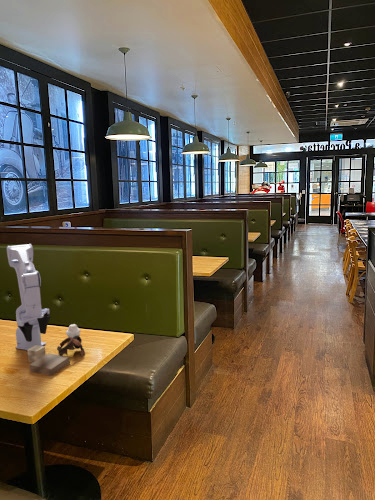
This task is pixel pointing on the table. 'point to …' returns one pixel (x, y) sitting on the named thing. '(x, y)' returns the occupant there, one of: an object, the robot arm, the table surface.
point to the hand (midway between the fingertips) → (36, 337)
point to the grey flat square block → (49, 364)
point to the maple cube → (36, 353)
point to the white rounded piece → (73, 331)
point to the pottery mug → (71, 345)
